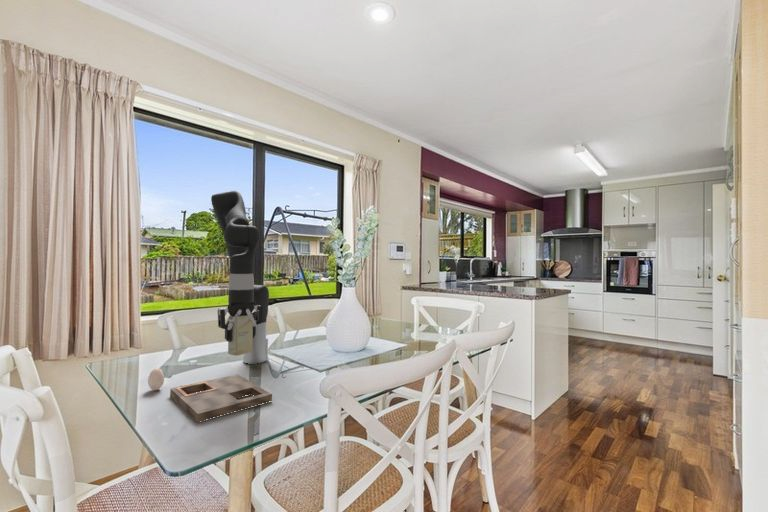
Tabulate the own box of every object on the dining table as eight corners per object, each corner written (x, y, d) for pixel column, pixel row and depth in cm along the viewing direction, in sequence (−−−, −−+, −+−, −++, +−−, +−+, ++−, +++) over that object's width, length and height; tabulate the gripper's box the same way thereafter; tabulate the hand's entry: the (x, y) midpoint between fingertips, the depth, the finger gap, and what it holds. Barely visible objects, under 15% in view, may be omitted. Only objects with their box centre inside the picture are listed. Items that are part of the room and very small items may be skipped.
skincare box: (236, 356, 113) (237, 317, 113) (227, 354, 116) (227, 315, 116) (253, 351, 119) (253, 314, 119) (244, 349, 121) (244, 313, 121)
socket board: (237, 381, 135) (237, 373, 135) (271, 402, 116) (272, 393, 116) (170, 396, 119) (170, 387, 119) (197, 423, 101) (197, 413, 101)
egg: (145, 393, 121) (145, 370, 121) (151, 388, 126) (151, 366, 126) (160, 392, 122) (161, 370, 122) (166, 387, 127) (166, 365, 127)
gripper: (257, 285, 125) (256, 334, 125) (213, 287, 114) (212, 341, 115) (268, 287, 120) (267, 338, 120) (223, 289, 109) (222, 345, 109)
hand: (240, 339), depth 117 cm, fingers closed on skincare box, 7 cm apart
